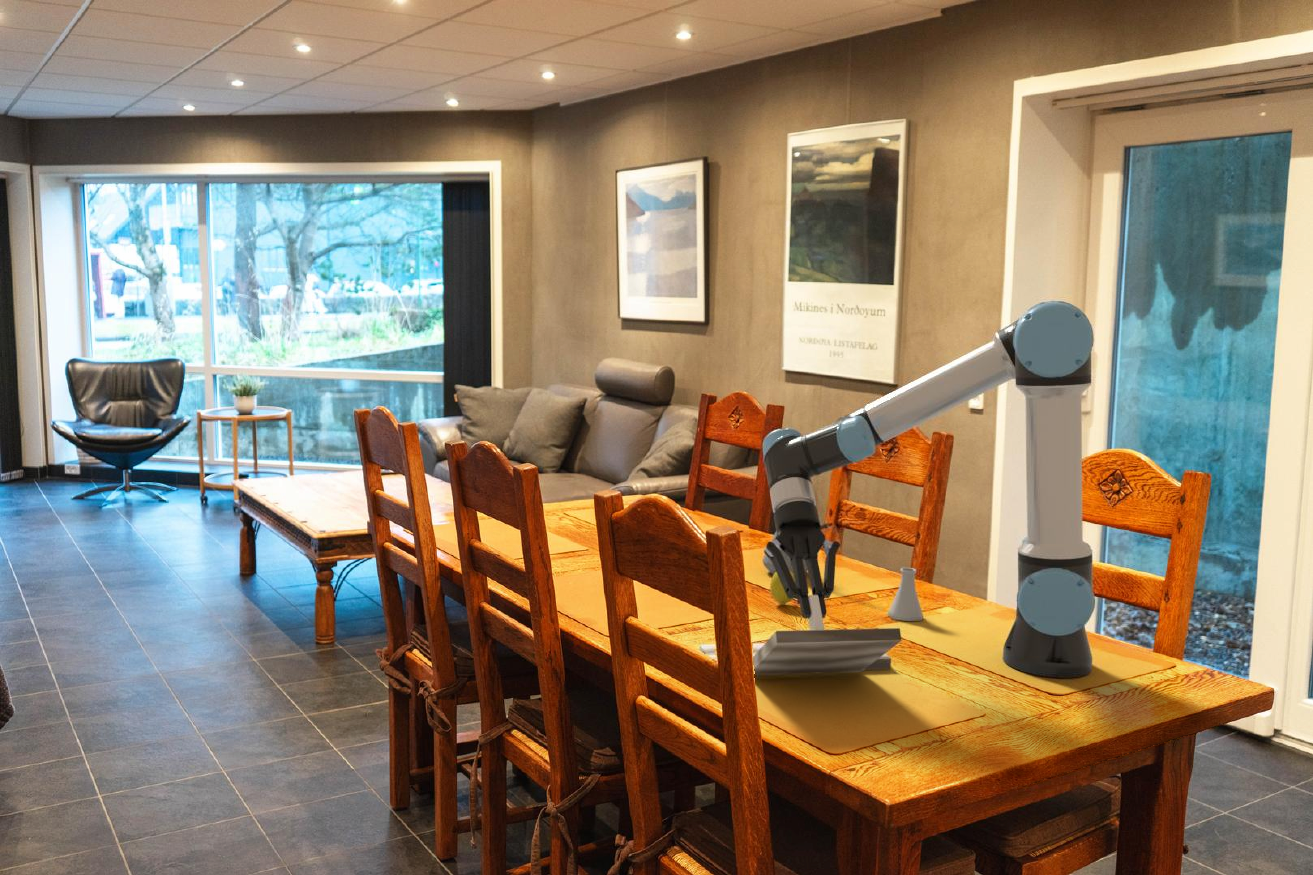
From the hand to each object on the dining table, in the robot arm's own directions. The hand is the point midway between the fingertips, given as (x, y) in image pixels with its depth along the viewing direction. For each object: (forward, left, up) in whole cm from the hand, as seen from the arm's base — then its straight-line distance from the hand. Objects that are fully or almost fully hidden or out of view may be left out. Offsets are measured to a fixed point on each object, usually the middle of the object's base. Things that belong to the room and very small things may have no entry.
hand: (818, 635), depth 176 cm
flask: (+21, -49, -11) cm, 55 cm away
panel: (+1, -3, -5) cm, 6 cm away
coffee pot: (+54, -53, -11) cm, 77 cm away
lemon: (+41, -34, -11) cm, 54 cm away
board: (+14, -10, -11) cm, 21 cm away
